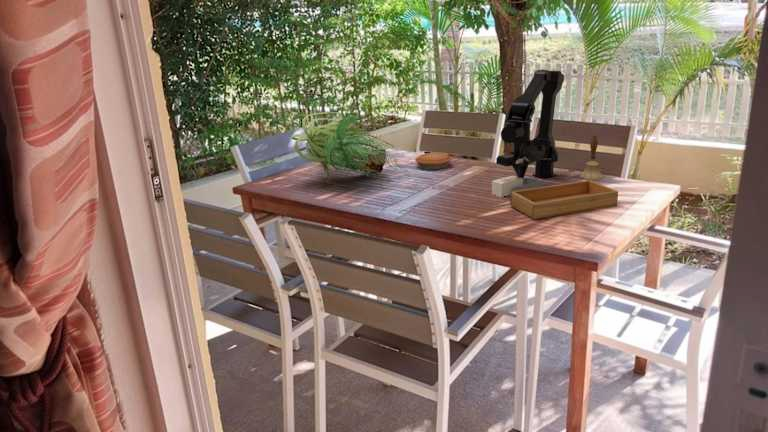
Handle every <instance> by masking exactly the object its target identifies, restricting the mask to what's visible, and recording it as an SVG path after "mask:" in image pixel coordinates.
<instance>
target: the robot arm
mask: <svg viewBox="0 0 768 432" xmlns="http://www.w3.org/2000/svg"><path fill="white" fill-rule="evenodd" d="M564 81H565V76H564V74H563V72H562V71H561V70H547V69H536V70H535V71H534V73H533V77H532V79H531V80H530V82H529V83H528V85H527V86H526V88H525V91H524V92H523V93H522V94H521V95H520V96H517V97H516V98H515V99H514V100H513V101H512V103H511V104H510V107H509V110H508V113H507V115H506V119H505V122H506V123H505V124H506V126H504V127H503V128H502V129H501V131H500V138H501V139H502V141H503V143H506V144H512V145H513V146H512V150H510V155H509V154H500V155H498V156H496V159H495V160H496V161H495V164H497V165H501V166H503V167H512V168H513V169H514V171H515V173H516V176H517V177H520V178H524V177H525V175H526V173H527V171H528V170H527V169H528V168H529V166H530V165H532V163H535V166H534V168H535V173H533V174H532V176H534V177H537V178H541V179H550V178H552V177H556V176H557V174H556V173H554V168H555V167H554V165H555V163H556V162H558V160H559V156H560V155H559V152H558V151H557V148H556V142H555V139H554V137H553V135H552V133H553V124H554V118H555V108H556V101H557V100H556V98H557V95H558V93H559V92H560V91H561V90H562V86H563V83H564ZM540 94H542V99H541V100H542V101H541V109H540V117H539V127H538V133H537V135H536V136H535V137H534V138H532V139H531V123H532V122H533V120H532V118H533V116H534V114H535V112H536V106H535V103H536V101H537V99H538V98H539V96H540Z"/></svg>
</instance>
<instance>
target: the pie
mask: <svg viewBox="0 0 768 432" xmlns="http://www.w3.org/2000/svg"><path fill="white" fill-rule="evenodd" d="M452 159H453V157H452V156H450V155H449V154H447V153H444V152H428V153H421V154H420V155H418V156H417V157H415V158H414V161H415V162H416V164H418V166H419V167H420V168H421V169H423V170H425V171H426V170H427V171H438V170H445V169H446V168H447V167H448V166H449V164H450V162H451V161H452Z"/></svg>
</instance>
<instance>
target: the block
mask: <svg viewBox="0 0 768 432" xmlns="http://www.w3.org/2000/svg"><path fill="white" fill-rule="evenodd" d="M521 185H523V178H520V177H518V176H517V175H516V176H515V175H510V176H506V177H502V178H498V179H494V180H492V181H491V195H492V196H495V195H496V196H495V197H498V196H499V198H501V197H502V198H505V197H504V196H506V197H509V196H510V192H512V191H513V187H517V186H521ZM508 195H509V196H508Z"/></svg>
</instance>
